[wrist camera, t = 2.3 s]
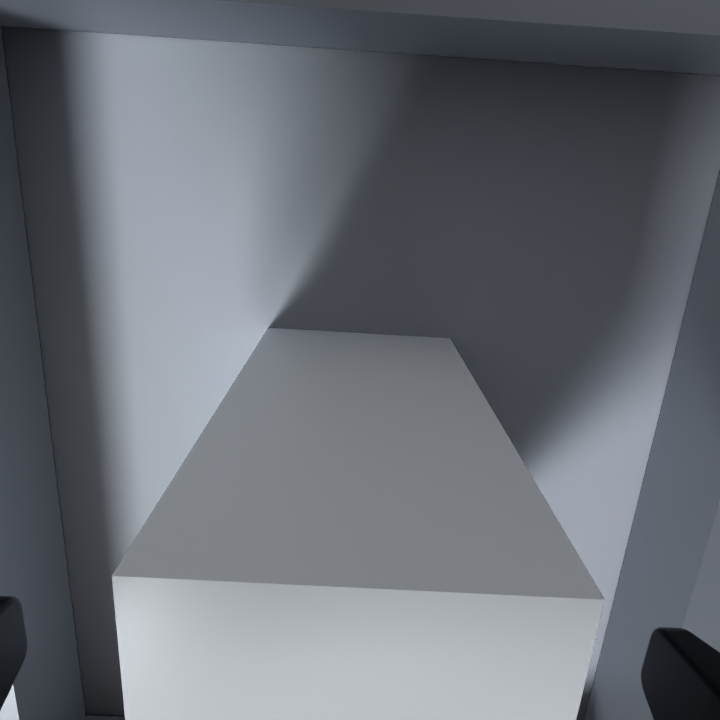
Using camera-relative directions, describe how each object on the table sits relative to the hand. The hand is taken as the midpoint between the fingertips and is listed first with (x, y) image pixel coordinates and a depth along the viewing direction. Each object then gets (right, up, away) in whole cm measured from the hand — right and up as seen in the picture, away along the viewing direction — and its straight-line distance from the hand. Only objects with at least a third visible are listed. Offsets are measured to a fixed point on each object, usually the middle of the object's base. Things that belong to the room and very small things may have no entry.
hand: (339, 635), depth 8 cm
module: (0, +2, +5) cm, 5 cm away
